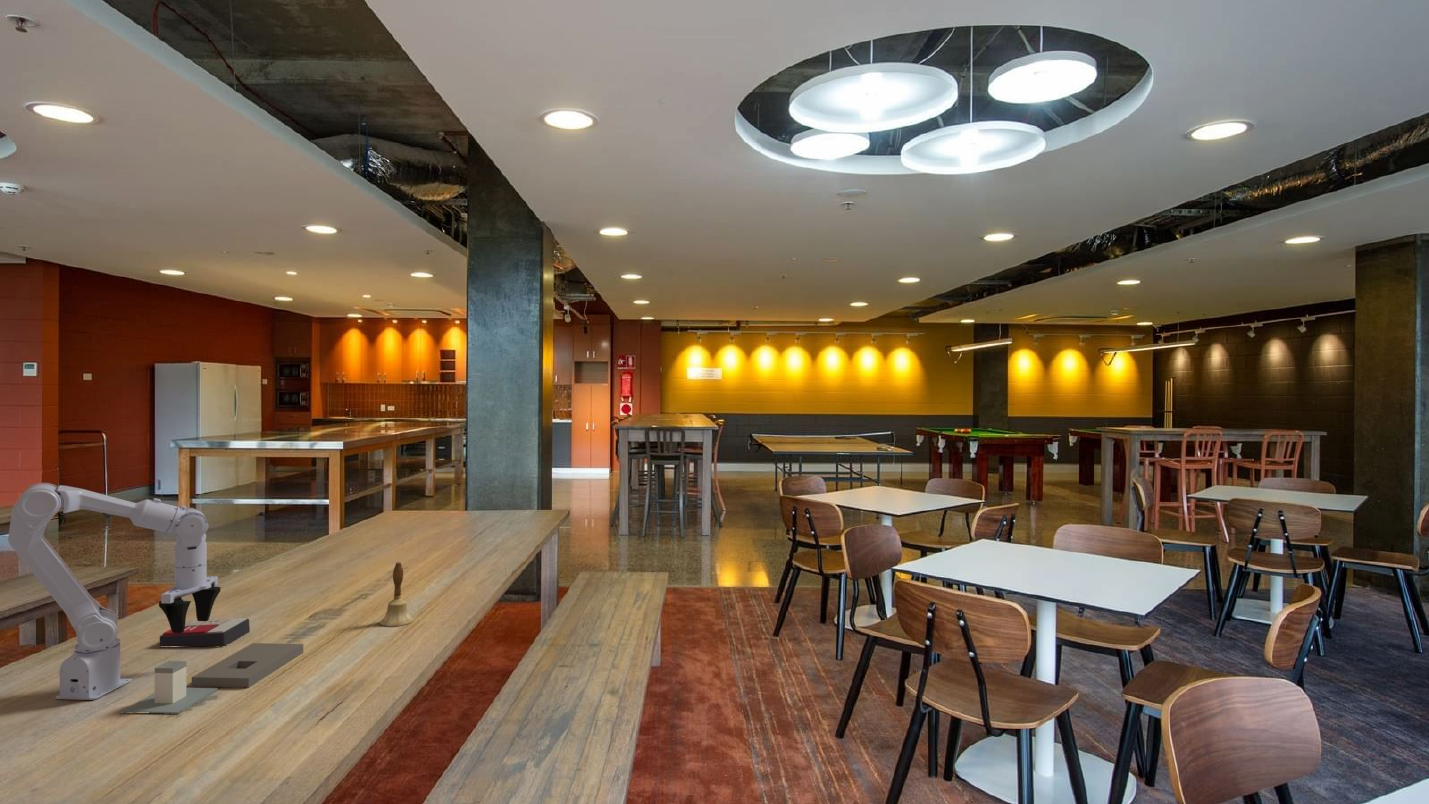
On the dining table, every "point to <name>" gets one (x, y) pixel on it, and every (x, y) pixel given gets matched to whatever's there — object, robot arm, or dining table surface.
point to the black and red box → (207, 633)
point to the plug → (170, 682)
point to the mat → (150, 706)
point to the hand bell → (397, 603)
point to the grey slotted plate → (247, 665)
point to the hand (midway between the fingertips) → (190, 626)
